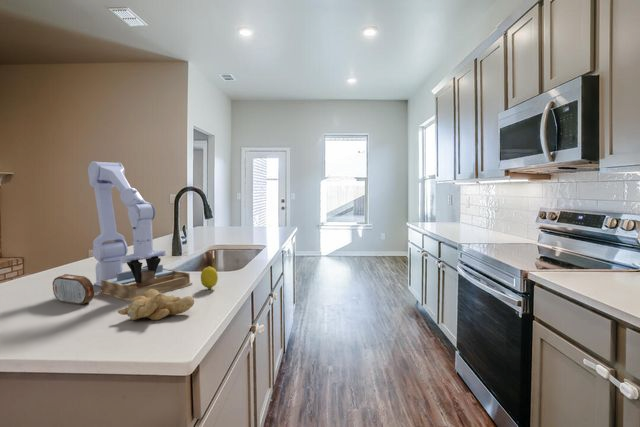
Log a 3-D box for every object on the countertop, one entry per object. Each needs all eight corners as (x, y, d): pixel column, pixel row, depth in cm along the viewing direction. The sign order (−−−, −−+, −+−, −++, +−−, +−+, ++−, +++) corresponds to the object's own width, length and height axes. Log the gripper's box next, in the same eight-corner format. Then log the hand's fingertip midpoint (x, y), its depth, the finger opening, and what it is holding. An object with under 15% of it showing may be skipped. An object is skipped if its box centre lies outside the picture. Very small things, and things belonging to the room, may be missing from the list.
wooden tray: (99, 292, 120) (99, 280, 120) (161, 278, 139) (161, 267, 139) (130, 301, 110) (129, 288, 110) (192, 284, 129) (191, 273, 129)
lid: (105, 282, 120) (105, 273, 120) (159, 270, 137) (159, 262, 137) (119, 285, 116) (118, 276, 116) (173, 273, 132) (172, 264, 132)
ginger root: (109, 313, 96) (116, 283, 97) (166, 311, 108) (171, 285, 109) (134, 329, 86) (141, 296, 87) (193, 326, 98) (199, 296, 99)
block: (143, 288, 116) (142, 273, 116) (136, 287, 118) (136, 272, 118) (154, 286, 119) (154, 271, 119) (148, 284, 122) (147, 269, 121)
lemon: (213, 291, 119) (212, 268, 119) (197, 291, 121) (197, 267, 120) (220, 287, 125) (220, 264, 124) (206, 286, 126) (205, 264, 125)
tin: (96, 303, 109) (94, 276, 108) (86, 306, 106) (84, 278, 105) (61, 298, 114) (60, 272, 113) (51, 301, 111) (49, 275, 110)
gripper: (127, 244, 110) (129, 287, 111) (170, 238, 122) (171, 277, 123) (115, 242, 114) (117, 284, 115) (157, 236, 126) (159, 275, 127)
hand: (144, 281), depth 119 cm, fingers closed on block, 4 cm apart
